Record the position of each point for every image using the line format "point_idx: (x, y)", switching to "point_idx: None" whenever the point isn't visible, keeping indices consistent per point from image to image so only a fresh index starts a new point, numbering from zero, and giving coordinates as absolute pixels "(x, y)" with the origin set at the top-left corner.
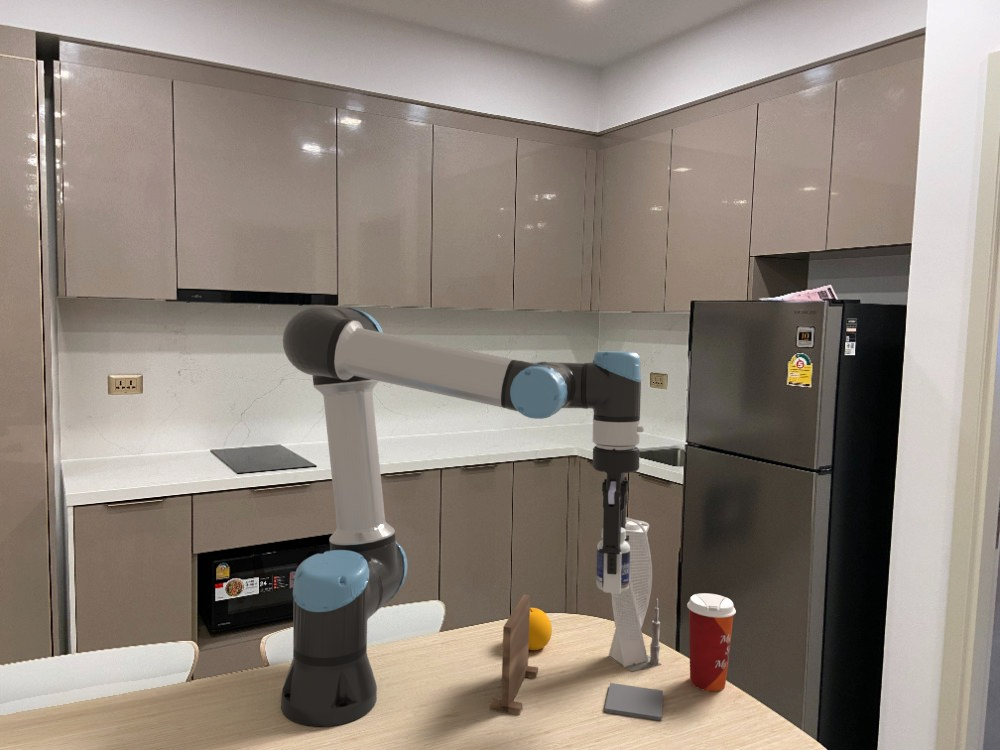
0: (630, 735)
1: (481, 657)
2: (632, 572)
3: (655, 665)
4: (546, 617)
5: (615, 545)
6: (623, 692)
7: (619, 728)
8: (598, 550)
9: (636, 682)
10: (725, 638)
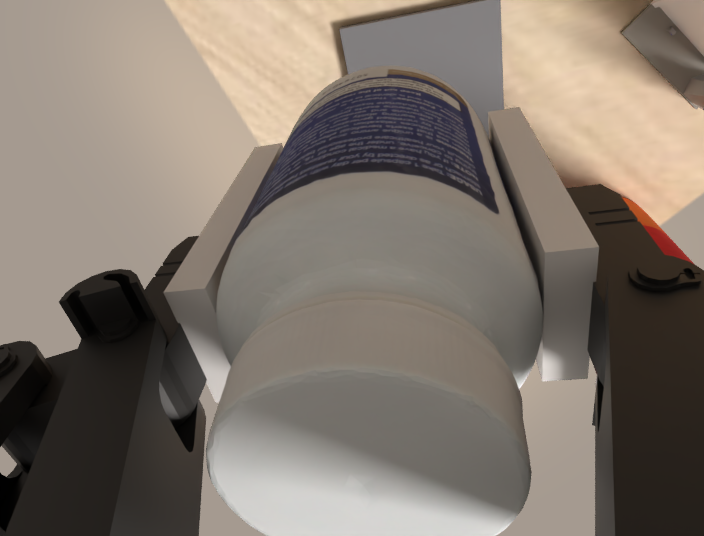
0: (269, 118)
1: None
2: None
3: (682, 94)
4: None
5: (1, 486)
6: (452, 54)
7: (284, 86)
8: (263, 208)
9: (551, 65)
10: None
